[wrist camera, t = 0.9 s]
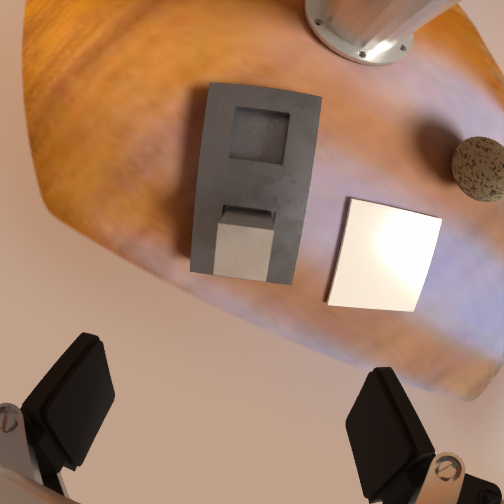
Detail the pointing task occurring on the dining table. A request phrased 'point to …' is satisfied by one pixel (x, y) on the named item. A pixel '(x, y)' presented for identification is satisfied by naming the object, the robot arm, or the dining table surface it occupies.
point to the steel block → (244, 243)
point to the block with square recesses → (255, 168)
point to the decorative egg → (479, 168)
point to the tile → (383, 257)
